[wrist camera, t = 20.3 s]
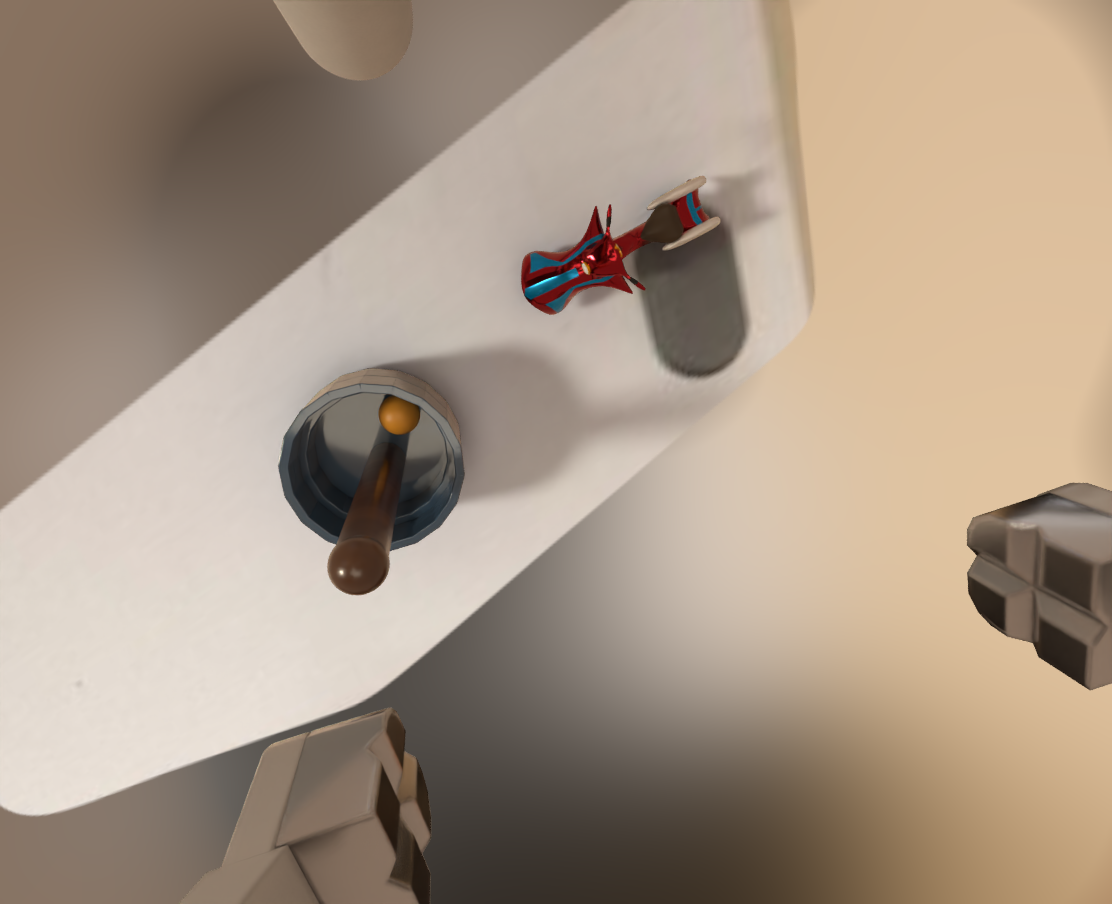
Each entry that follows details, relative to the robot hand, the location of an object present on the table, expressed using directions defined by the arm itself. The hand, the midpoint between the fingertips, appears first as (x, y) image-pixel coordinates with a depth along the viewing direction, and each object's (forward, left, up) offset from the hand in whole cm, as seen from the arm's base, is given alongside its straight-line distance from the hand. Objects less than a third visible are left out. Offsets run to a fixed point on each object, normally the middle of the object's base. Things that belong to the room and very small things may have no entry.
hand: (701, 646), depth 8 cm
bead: (+2, -7, -29) cm, 30 cm away
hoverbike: (-4, +8, -31) cm, 33 cm away
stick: (+5, -8, -30) cm, 32 cm away
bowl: (+4, -8, -31) cm, 32 cm away
